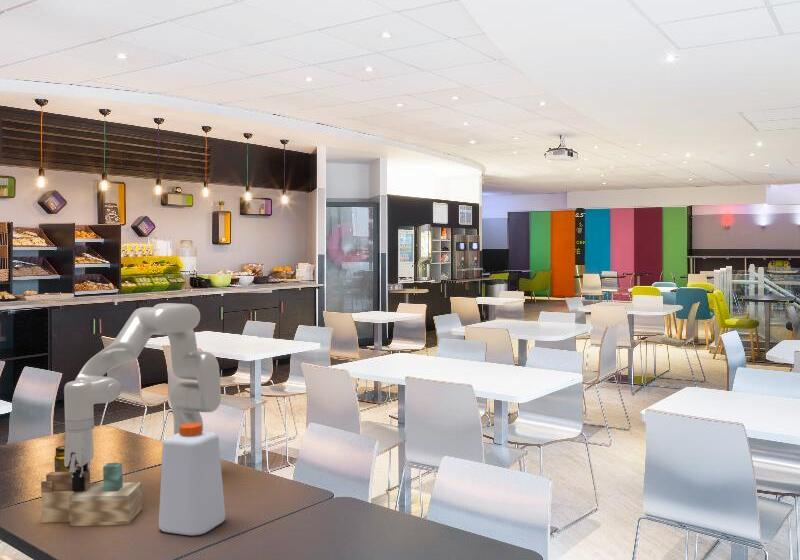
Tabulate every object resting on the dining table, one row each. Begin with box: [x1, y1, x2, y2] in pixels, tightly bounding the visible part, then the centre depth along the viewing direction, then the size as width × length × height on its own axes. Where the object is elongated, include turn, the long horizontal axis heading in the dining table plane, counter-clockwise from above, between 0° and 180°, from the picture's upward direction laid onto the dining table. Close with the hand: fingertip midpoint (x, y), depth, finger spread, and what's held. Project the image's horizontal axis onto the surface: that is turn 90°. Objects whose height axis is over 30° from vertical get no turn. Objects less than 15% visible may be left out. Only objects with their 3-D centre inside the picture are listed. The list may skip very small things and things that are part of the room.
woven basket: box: [40, 480, 142, 527], centre depth 210 cm, size 25×12×12 cm, turn 93°
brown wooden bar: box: [45, 471, 91, 491], centre depth 210 cm, size 11×3×4 cm, turn 93°
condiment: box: [54, 445, 70, 472], centre depth 243 cm, size 7×8×12 cm
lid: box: [69, 462, 142, 501], centre depth 210 cm, size 16×12×10 cm
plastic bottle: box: [158, 423, 226, 537], centre depth 203 cm, size 15×15×28 cm
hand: (81, 488), depth 210 cm, fingers closed on brown wooden bar, 3 cm apart
